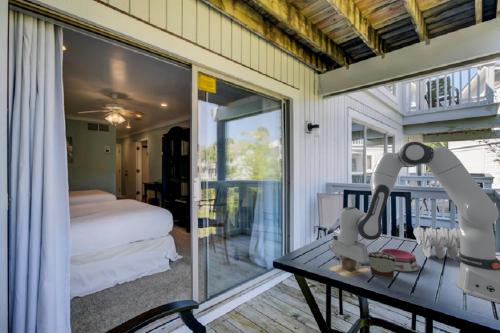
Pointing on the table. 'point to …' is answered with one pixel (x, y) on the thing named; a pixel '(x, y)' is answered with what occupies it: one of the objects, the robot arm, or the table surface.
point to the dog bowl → (403, 260)
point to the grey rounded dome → (366, 263)
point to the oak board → (346, 273)
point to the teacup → (334, 252)
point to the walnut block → (348, 264)
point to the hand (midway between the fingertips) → (349, 265)
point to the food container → (382, 264)
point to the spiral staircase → (438, 241)
